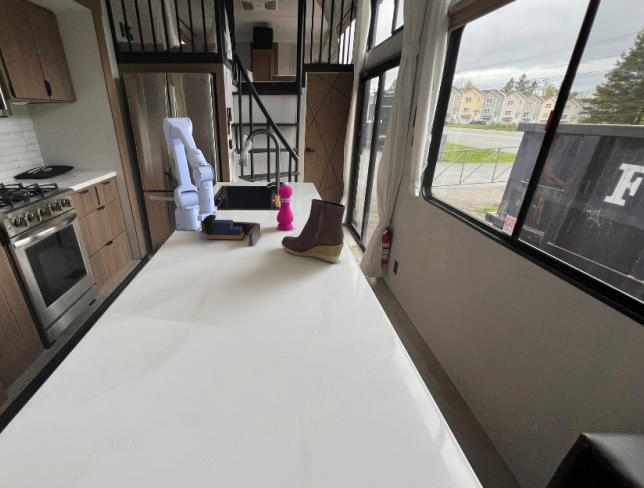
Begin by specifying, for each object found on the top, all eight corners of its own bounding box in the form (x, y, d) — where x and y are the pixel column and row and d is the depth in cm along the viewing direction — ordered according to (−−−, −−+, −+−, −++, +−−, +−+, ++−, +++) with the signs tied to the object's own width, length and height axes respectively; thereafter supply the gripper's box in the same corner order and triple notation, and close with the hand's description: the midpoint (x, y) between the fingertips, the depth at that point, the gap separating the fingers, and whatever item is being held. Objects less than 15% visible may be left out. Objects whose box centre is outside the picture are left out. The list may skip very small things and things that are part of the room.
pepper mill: (274, 230, 138) (274, 183, 129) (279, 225, 144) (279, 179, 136) (291, 231, 136) (291, 183, 127) (295, 226, 142) (295, 180, 134)
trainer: (207, 238, 129) (205, 222, 126) (211, 234, 134) (210, 219, 132) (241, 239, 127) (241, 223, 125) (244, 235, 133) (243, 219, 131)
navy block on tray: (190, 241, 128) (188, 229, 125) (203, 230, 139) (202, 219, 137) (252, 245, 123) (252, 233, 120) (260, 234, 134) (260, 222, 132)
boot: (289, 243, 124) (290, 191, 116) (347, 258, 111) (353, 200, 102) (276, 250, 118) (276, 195, 109) (336, 267, 105) (341, 206, 96)
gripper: (208, 204, 115) (212, 240, 120) (222, 195, 127) (225, 228, 133) (190, 203, 116) (194, 239, 122) (206, 194, 129) (209, 227, 134)
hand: (209, 233), depth 127 cm, fingers closed, pressing on trainer
